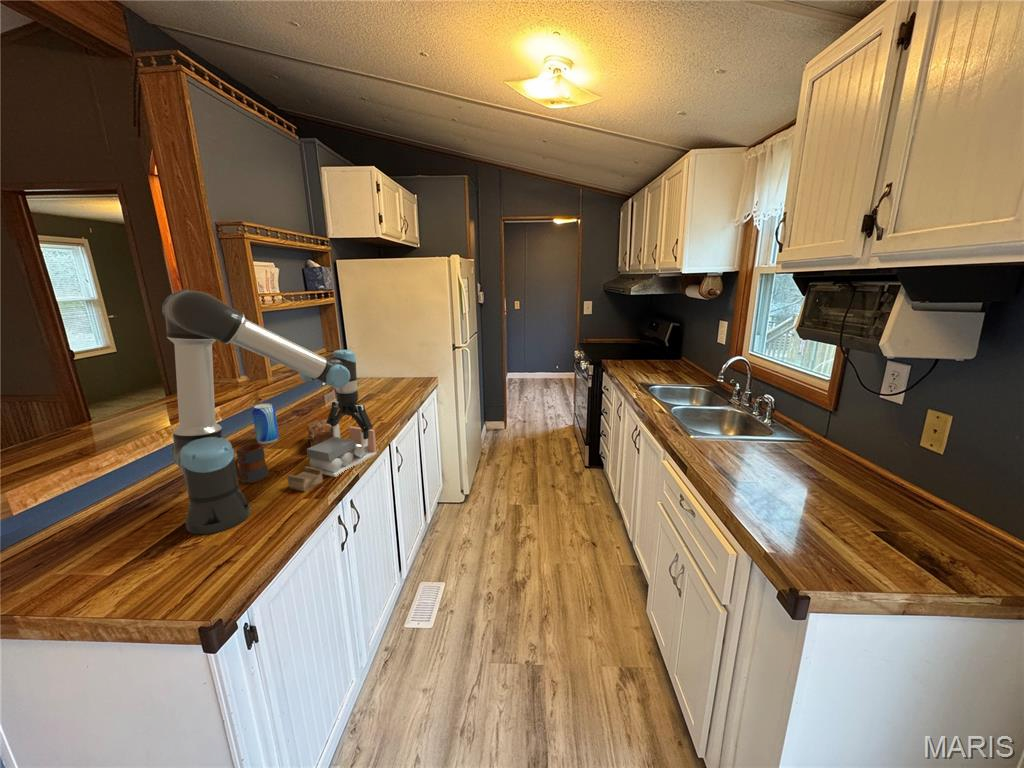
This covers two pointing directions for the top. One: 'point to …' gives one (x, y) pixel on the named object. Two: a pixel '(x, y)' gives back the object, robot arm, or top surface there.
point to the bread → (319, 431)
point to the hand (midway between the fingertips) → (350, 443)
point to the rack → (305, 479)
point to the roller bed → (346, 455)
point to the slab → (331, 448)
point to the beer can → (265, 423)
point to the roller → (359, 451)
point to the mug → (251, 463)
